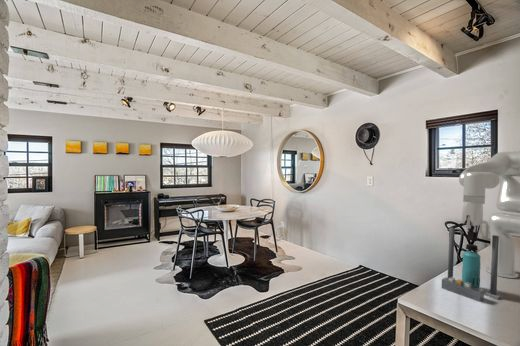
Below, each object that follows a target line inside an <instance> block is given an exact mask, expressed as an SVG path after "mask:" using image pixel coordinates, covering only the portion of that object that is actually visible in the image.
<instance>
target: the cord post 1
mask: <svg viewBox="0 0 520 346" xmlns="http://www.w3.org/2000/svg"><path fill="white" fill-rule="evenodd" d="M448 228H449V230H448V232H449V234H448V235H449V236H448V255H447V257H448V259H447V260H448V261H447V263H448V264H447V276H446V278H450V277H453V278H454V257H455V256H454V255H455V254H454V253H455V234H456V233H455V232H456V231H455V228H456V227H448ZM456 280H457V279H455V281H456Z"/></svg>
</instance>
